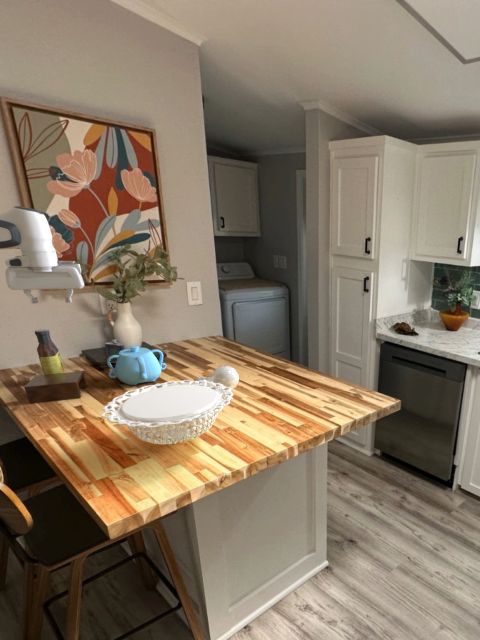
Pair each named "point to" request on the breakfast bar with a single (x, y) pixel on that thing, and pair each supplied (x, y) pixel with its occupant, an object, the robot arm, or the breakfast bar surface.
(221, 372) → the potion bottle
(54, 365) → the sauce bottle
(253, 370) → the breakfast bar surface
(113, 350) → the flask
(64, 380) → the shelf
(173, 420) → the white lattice bowl
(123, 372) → the decorative pot
